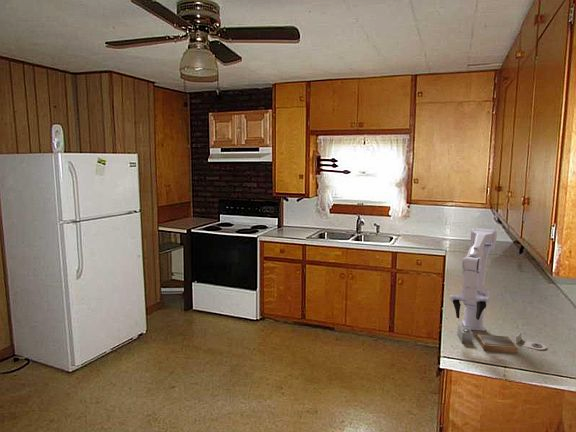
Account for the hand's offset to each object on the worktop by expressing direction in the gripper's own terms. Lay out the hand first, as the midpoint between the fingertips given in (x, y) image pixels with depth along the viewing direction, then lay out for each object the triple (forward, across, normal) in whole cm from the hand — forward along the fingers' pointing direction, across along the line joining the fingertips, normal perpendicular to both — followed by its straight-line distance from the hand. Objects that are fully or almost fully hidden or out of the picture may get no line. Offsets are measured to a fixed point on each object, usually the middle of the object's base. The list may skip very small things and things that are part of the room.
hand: (467, 318), depth 167 cm
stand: (+9, +11, -4) cm, 15 cm away
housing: (+10, 0, 0) cm, 10 cm away
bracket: (+10, +25, 0) cm, 27 cm away
